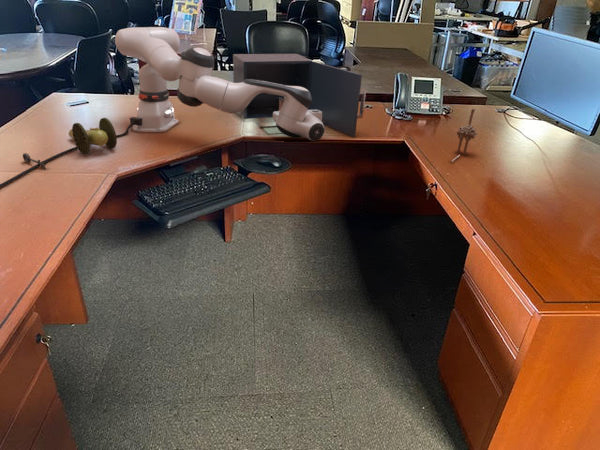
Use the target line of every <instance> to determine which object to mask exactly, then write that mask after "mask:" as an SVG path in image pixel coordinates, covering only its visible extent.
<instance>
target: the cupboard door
mask: <svg viewBox="0 0 600 450" xmlns="http://www.w3.org/2000/svg"><path fill="white" fill-rule="evenodd" d="M336 67H337V66H332V65H328V64H325V63H321V62H319V61H318V62H317V61H313V60H312V72H311V89H310V94H311V97H312V102H311V104H310V106H309V110H314V109H316V110H319V111H321V112H322V123H323V125H324V126H327V127H329V128H332V129H334V130H336V131H338V132H341V133H343V134H345V135H347V136H350V137H352V138H355V137H356V132H357V123H358V119H363V117H364V108H365V101H366V93H367V90H366V89H365V88H363V89H361V87H362V79H363V74H361V73H357V72H353V71H347V70H343V69H340V68H336ZM359 105H360V106H359Z"/></svg>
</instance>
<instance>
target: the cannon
mask: <svg viewBox="0 0 600 450" xmlns="http://www.w3.org/2000/svg"><path fill="white" fill-rule="evenodd" d="M116 135H117V133H116V130H115V127H114V125H113V124H112V121H111V120H109V118H107V117H102V118H100V120H99V122H98V127H89V129H85V128H84V126H83V125H82V124H81V123H79V122H74V123H73V124H72V126H71V129H70V130H69V131H68V136H69V138H70V139H72V140H73V141H74V144H75V147H77V148H78V149H77V150H78V151H79V152H80V154H81V155H84V156H86V155H89V154H90V152H91V145H93V146H98V147H103V146H106V147H107V148H108V149H110V150H111V149H115V148H116V147H117V144H118V137H117V138H116ZM90 144H91V145H90Z"/></svg>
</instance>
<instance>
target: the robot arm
mask: <svg viewBox="0 0 600 450" xmlns="http://www.w3.org/2000/svg"><path fill="white" fill-rule="evenodd" d="M114 43H115V47H116V49H117V51H118V52H119V53H120V54H121V55H122V56H126V57H131V58H134V59H137V60H139V61H142V62H144V63H145V64H144V65H143V66H141V67H140V68H139V70H138V73H137V74H138V75H137V76H138V81H139V93H138V99H139V101H138V106H137V111H136V116H131V117H129V122H130V124H129V125H128V126H127V127H126V130H125V131H124V132H123V133H120V134H116V138H117V139H118V138H121V137H124V136H126V135H127V134H128V133H129V132H130V129H131V128H132V131H133V132H139V133H164V132H168V131H169V130H170V129H172V127H174V126H176V125H177V124H179V123H180V121H179V119H177V118H176V115H175V109H174V104H173V102H172V101H170V99H169V98H170V92H169V89H168V87H167V85H168V83H167V82H175V81H178V87H177V89H176V93H177V94H176V95H177V100H179V102H180V103H182V104H184V105H186V106H188V107H193V108H195V107H196V108H197V107H200V106H202V105H203V104H205V105H207V106H209V107H211V108H213V109H216V110H217V111H220V112H224V113H227V114H232V115H235V114H240V113H239V112H241V111H242V110H244V109H245V108H246V107H247V105H248V104H249V103H250V102H251V101H252V99H253V98H254V97H255V96H256V95H258V94H260V93H269V94H275V95H280V96H284V102H283V104H282V107H281V110H279V111H275V112H273V117H272V121H273V122H275V126H277V128H278V129H279V131H280V132H282V133H283V135H285V136H287V137H289V138H293V139H299V138H302V137H303V138H305V139H306V140H308V141H309V140H310V141H312V142H316V141H319V140H320V139H321V138H323V135H324V133H325V125H324V124H323V123H324V122H322V112H321V111H319V110H316V109H314V110H308V109H309V106H310V104H311V102H312V97H311V94H310V92H309V91H308V90H307V89H305V88H303V87H300V86H288V85H283V84H277V83H272V82H267V81H261V80H255V79H245V80H244V81H243V82H241V83H234V81H229V80H227V79H224V78H220V77H216V76H212V74H213V68H214V66H215V57H214V54H212V53H211V52H209V50H207V49H205V48H203V47H190V48H188V49H186V50H185V51H182V52H180V54H179V55H178V54H177V53H178V51H179V50H180V47H181V39H180V36H179V34H178V32H177V31H176V30H175V29H173V28H169V27H164V26H146V27H145V26H143V27H142V26H141V27H140V26H137V27H127V28H121V29H119V30H118V31H117V32H116V34H115V38H114ZM91 145H92V144H90V146H91ZM76 150H78V148H77V146H74V147H72V148H68V149H67V150H64V151H62V152H59V153H57V154H55V155H53V156H50V157H48V158H46V159H45V160H42V161H43V163H44V164H45V165H46V164H47V163H48V162H51V161H53V160H56V159H57V158H59V157H61V156H64V155H66V154H69V153H71V152H74V151H76ZM42 161H40V162H41V163H42ZM39 167H41V165H40V164H38V163H36V164H35V165H33V166H31V167H29V168H28V169H25V170H24V171H22V172H20V173H18V174H17V175H14V176H13V177H11V178H9V179H8V180H5V181H4V182H2V183H0V189H1V188H3V187H5V186H7V185H9V184H11V183H12V182H14V181H16V180H18V179H20V178H22V177H23V176H25V175H27V174H29V173H30V172H32V171H34V170H36V169H37V168H38V169H39Z"/></svg>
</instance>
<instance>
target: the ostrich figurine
mask: <svg viewBox="0 0 600 450" xmlns="http://www.w3.org/2000/svg"><path fill="white" fill-rule="evenodd" d="M470 111H471V112H470V115H469V120H468V124H465V125H464V126H460V127H459V128H458V130H457V132H456V136H457V138H458V139H459V142H458V146H457V151H456V154H458V155H457V156H455V157H454V158H453V159H452V160H451V163H453V162H454V161H456V160H457V159H458V158H459V157H460V153H461V149H462V144H463V140H465V144H464V147H463V152H462V155H463V156H466V155H467V150H468V145H469V142H470V141H471V140H472V139H473V140H474V139H475V137H476V136H477V135H478V132H477V130H476V129H475V127H474V125H472V121H473V117H474V114H475V111H476V108H474V107H473V108H471V110H470Z"/></svg>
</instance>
